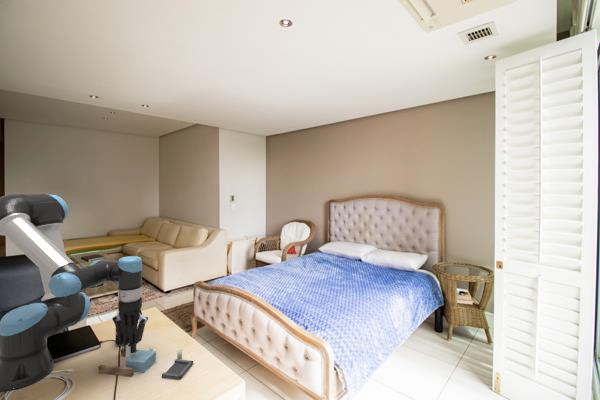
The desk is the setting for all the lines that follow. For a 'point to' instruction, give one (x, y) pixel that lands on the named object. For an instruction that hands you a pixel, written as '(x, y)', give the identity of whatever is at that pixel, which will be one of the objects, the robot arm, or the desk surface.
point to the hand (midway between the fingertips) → (130, 360)
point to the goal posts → (179, 352)
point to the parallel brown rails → (116, 368)
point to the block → (141, 360)
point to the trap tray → (178, 369)
